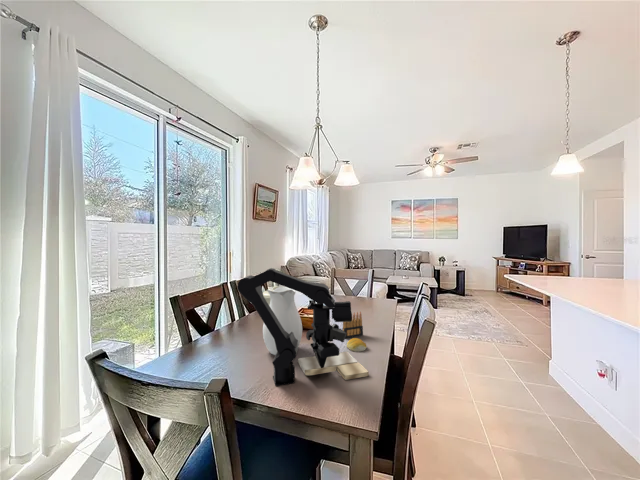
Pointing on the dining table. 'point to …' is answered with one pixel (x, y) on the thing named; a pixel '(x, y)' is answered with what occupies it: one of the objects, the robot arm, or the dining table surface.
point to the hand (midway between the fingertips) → (321, 366)
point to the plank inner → (320, 370)
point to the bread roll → (356, 345)
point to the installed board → (332, 361)
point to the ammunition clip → (353, 327)
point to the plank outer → (352, 371)
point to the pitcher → (283, 316)
